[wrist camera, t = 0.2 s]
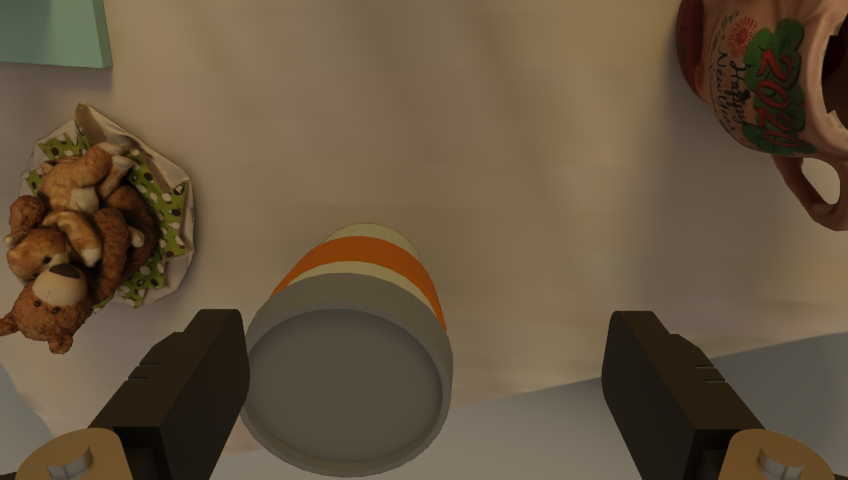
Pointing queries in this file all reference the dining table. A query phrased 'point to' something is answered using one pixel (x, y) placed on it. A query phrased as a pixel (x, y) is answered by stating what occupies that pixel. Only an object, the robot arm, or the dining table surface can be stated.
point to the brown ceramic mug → (775, 83)
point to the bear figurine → (94, 228)
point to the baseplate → (54, 33)
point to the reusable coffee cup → (350, 358)
